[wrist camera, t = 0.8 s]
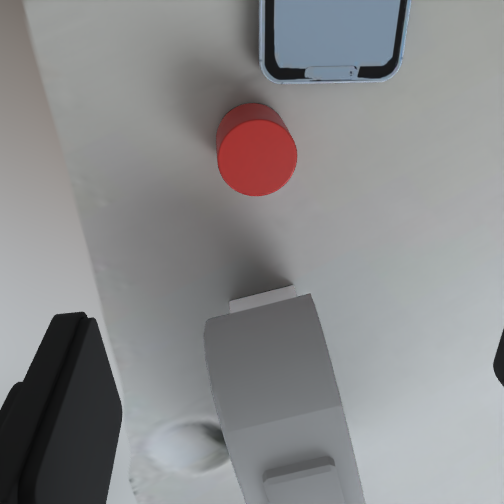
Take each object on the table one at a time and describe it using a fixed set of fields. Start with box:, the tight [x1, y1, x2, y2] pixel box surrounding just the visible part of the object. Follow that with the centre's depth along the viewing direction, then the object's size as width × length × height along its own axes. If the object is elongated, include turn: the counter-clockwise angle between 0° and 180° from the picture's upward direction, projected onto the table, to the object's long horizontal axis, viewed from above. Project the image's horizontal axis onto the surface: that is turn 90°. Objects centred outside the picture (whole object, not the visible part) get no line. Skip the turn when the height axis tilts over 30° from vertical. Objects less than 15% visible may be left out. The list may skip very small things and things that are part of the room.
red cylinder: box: [216, 103, 297, 196], centre depth 23 cm, size 4×4×4 cm
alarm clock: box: [204, 285, 366, 504], centre depth 29 cm, size 23×6×13 cm, turn 14°
